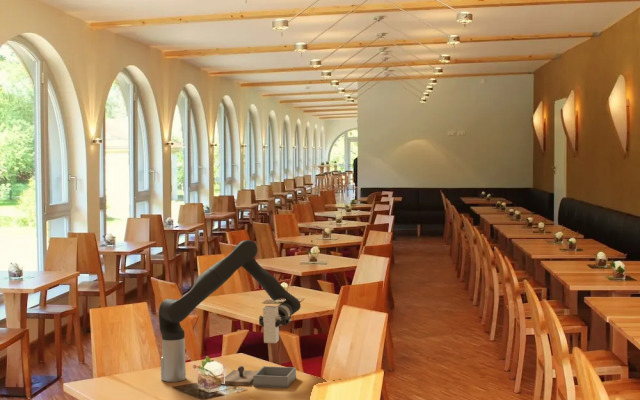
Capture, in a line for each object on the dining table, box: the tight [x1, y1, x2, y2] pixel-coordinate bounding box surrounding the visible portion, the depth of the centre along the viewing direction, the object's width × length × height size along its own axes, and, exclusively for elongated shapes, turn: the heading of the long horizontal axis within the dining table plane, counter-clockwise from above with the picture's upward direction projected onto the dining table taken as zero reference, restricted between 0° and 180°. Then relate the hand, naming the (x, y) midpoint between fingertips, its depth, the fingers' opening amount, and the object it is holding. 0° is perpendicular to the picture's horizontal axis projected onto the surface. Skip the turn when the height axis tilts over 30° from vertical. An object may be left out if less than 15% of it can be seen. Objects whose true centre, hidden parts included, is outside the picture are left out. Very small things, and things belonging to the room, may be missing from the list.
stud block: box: [224, 365, 259, 387], centre depth 316 cm, size 12×16×6 cm
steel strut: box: [262, 305, 280, 344], centre depth 311 cm, size 5×5×14 cm
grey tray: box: [252, 365, 297, 389], centre depth 310 cm, size 14×14×4 cm
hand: (269, 324), depth 308 cm, fingers closed on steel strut, 5 cm apart
